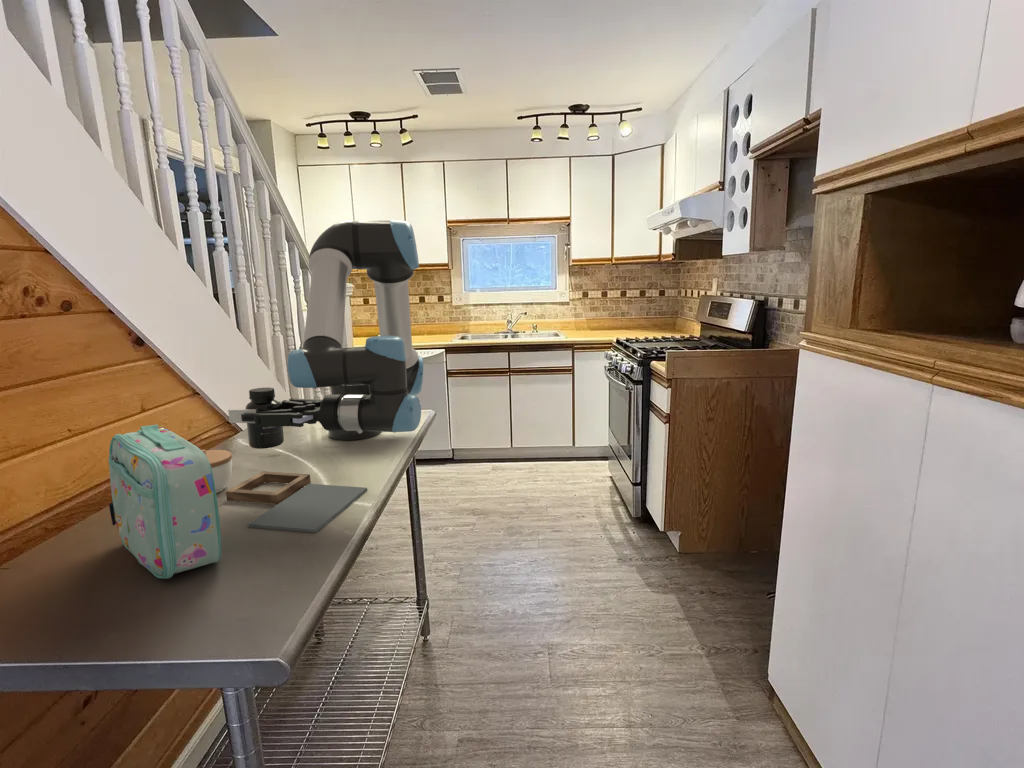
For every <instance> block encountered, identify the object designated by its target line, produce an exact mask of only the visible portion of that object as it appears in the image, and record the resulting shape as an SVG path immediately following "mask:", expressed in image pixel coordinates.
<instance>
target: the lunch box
mask: <svg viewBox="0 0 1024 768" xmlns="http://www.w3.org/2000/svg"><path fill="white" fill-rule="evenodd" d="M139 428H140V429H139V430H137V431H134V432H133V431H132V432H126V433H124V434H122V433H116V434H115V435H114V436H113V437H111V440H110V443H109V452H108V453H109V454H108V465H109V467H108V468H109V470H108V471H109V479H110V480H109V481H110V489H111V490H110V491H111V498H112V499H111V500H112V502H110V503H109V504H108V506H109V507H108V508H109V513H110V518H111V524H112V526H115V525H116V528H117V531H118V533H119V536H120V539H121V542H122V544H123V546H124V547H125V549H126V550H128V551H129V552H130V553H131V554H132V555H133V556H134V557H135V558H136V560H137V561H138V564H140V565H142V566H143V567H144V568H145V569H147V570H148V571H149V572H150V573H151V574H153V576H154V577H156V578H157V579H165V580H166V579H170V578H172V577H173V576H174V574H179V573H183V572H185V571H190V570H193V569H196V568H200V567H203V566H206V565H209V564H214V563H217V562H219V561H220V559H221V557H222V538H221V535H222V534H221V520H220V513H219V511H220V510H219V503H218V497H217V493H216V489H215V483H214V478H213V473H212V469H211V465H210V463H209V460H208V458H207V456H206V455H205V453H204V452H203V451H202V450H203V449H201V448H200V447H198V446H196V445H194V444H193V443H191V442H190V441H188V440H186V439H185V438H183V437H182V436H180V435H179V434H176V433H175V432H173V431H170V430H169V429H167V428H159V425H158V424H151V425H141V426H140V427H139Z"/></svg>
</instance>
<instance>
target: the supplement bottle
mask: <svg viewBox="0 0 1024 768" xmlns="http://www.w3.org/2000/svg"><path fill="white" fill-rule="evenodd" d="M248 395H249V397H248V399H249V400H250V401H251V402H249V403H247V404H246V406H245V408H244V409H256V408H259V407H260V411H268V410H281V405H280V403H279V402H278V401H279V400H276V399H275V398H276V394H275V388H274V387H256V388H252V389H250V390H248ZM246 428H247V430H246V431H247V437H248V438H247V439H248V445H249V446H250V448H252V449H256V450H257V449H260V450H263V449H272V448H275V447H278V446H281V445H282V444H283V443H284V441H285V437H284V426H273V427H256V426H255V423H246Z"/></svg>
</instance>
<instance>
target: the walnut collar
mask: <svg viewBox="0 0 1024 768" xmlns="http://www.w3.org/2000/svg"><path fill="white" fill-rule="evenodd" d="M264 482H265V483H270V482H279V483H278V484H284V483H288V484H285V485H284V486H282V487H280V488H279V489H278V490H276V491H267V490H266V491H264V490H255V489H256V488H258V487H260V486H262V485H263V484H265V483H264ZM311 482H312V481H311V474H310V473H296V472H295V473H294V472H281V471H280V472H279V471H267V470H266V471H263V470H262V471H261V472H259V473H256V474H255V475H254V476H251V477H250V478H248V479H246V480H244V481H242V482H241V483H239V484H237V485H235V486H233V487H232V488H229V489H227V490H226V491H225V496H226V501H230V502H240V501H242V502H243V503H255V504H265V505H266V504H267V505H268V504H269V505H278V504H279V503H281V502H282V501H284V500H285V499H287V498H288V497H290V496H291V495H292V494H294V493H295V492H297V491H298V490H301V488H304V486H307V485H308V484H312V483H311ZM261 484H262V485H261ZM259 485H260V486H259ZM254 488H255V489H254ZM252 489H253V490H252ZM242 502H241V503H242Z"/></svg>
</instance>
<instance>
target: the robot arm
mask: <svg viewBox="0 0 1024 768" xmlns="http://www.w3.org/2000/svg"><path fill="white" fill-rule="evenodd" d="M415 237H416V236H415V233H414V229H413V225H412V224H411V223H410V222H409V221H407V220H397V219H396V220H395V219H388V220H387V219H386V220H385V219H384V220H382V219H379V220H377V219H376V220H375V219H373V220H372V219H371V220H367V219H365V220H364V219H363V220H362V219H361V220H359V219H357V220H356V219H355V220H354V219H347V220H342V221H339V222H336V223H334V224H332V225H331V226H330V227H328V228H326V229H325V230H324V231H323V232H322V233H321V234H319V236H318V237H317V239H316V240H315V241H314V243H313V244H312V247H311V248H310V252H309V257H308V268H309V271H310V272H311V278H310V287H309V295H308V302H307V310H306V316H305V326H304V327H305V328H304V334H303V343H302V348H298V349H292V350H291V351H290V353H288V356H287V374H288V378H289V382H290V384H291V385H292V386H293V387H295V388H300V389H307V388H308V389H317V388H329V387H330V389H331V393H330V394H327V395H325V396H324V397H323V398H322V399H316V398H314V399H313V398H312V399H311V398H293V397H292V398H289V399H288V400H287V399H286V400H285V399H283V400H277V401H278V402H279V403H280V405H281V410H268V411H260V407H259V408H256V409H245V408H230V409H228V410H227V412H228V418H229V423H230V424H231V423H232V424H233V423H235V424H239V423H240V424H247V423H255V426H256V427H273V426H283V427H294V428H295V427H297V428H303V427H304V424H307V425H315V424H317V422H318V423H320V424H321V427H322V429H324V430H325V431H328V436H329V438H331V439H333V440H339V441H355V440H361V439H362V440H363V439H368V438H371V437H374V436H377V435H379V434H380V433H393V434H394V433H407V432H408V433H409V432H413V431H416V430H417V428H418V427H419V425H420V423H421V418H422V406H421V400H420V399H419V397H418V396H417V395H419V394H420V393H421V392H422V388H423V382H424V381H423V380H424V358H423V357H422V356H419V354H418V352H417V350H416V349H415V348H413V340H412V339H413V338H412V325H411V309H410V308H411V307H410V306H411V305H410V291H409V280H411V278H413V276H414V271H416V270H417V269H419V267H420V263H419V254H418V249H417V248H418V247H417V243H416V238H415ZM352 270H357V271H358V270H361V271H362V270H366V275H367V277H368V278H369V279H370V281H372V282H373V284H374V292H375V293H374V294H375V301H376V302H375V303H376V310H377V322H378V329H379V335H378V336H377V335H376V336H369V337H367V338H366V339H365V345H364V346H356V347H355V346H353V347H343V342H344V330H345V329H344V327H345V312H346V311H345V310H346V300H347V299H346V297H347V285H348V284H347V281H348V280H347V278H349V277H350V275H351V274H352ZM250 402H251V400H250ZM250 402H249V403H250Z"/></svg>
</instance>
